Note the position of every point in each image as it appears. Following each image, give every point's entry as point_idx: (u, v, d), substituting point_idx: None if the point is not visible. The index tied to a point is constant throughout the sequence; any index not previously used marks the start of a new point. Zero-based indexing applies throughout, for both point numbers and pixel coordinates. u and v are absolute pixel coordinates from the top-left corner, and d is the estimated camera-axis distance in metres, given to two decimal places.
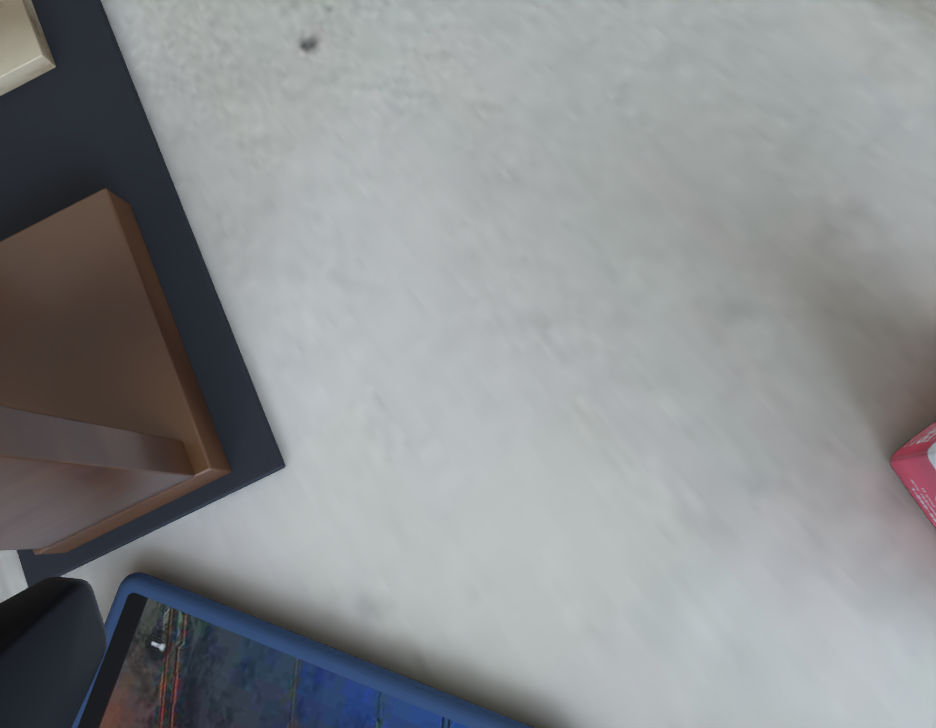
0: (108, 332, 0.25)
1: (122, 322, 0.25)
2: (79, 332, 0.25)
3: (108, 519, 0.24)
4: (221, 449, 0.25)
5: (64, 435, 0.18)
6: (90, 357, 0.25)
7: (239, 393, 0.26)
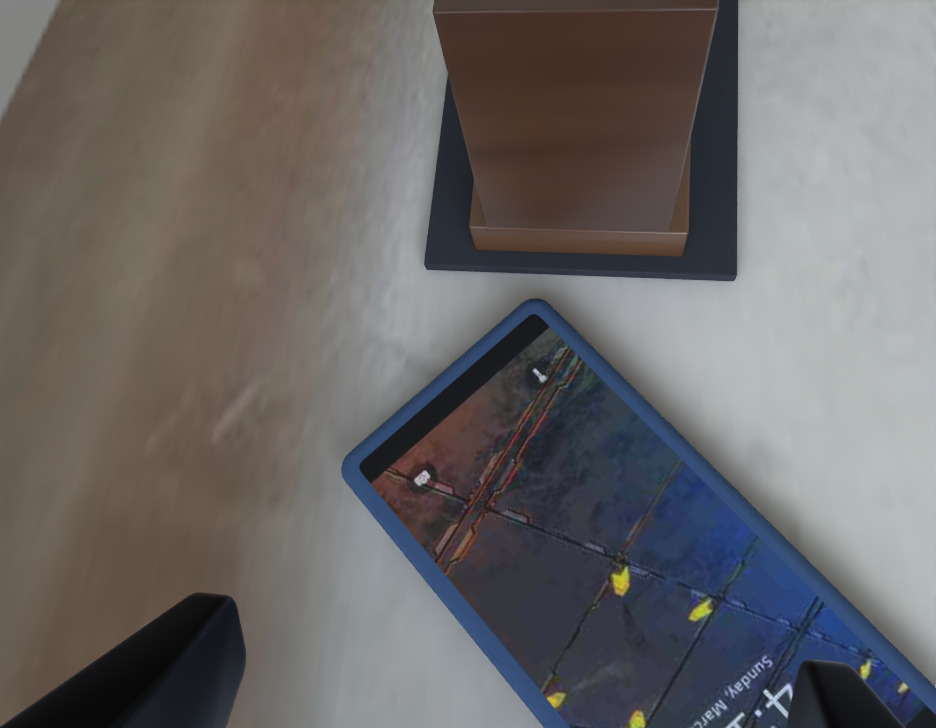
0: None
1: None
2: None
3: (559, 230, 0.22)
4: None
5: None
6: None
7: (723, 189, 0.24)
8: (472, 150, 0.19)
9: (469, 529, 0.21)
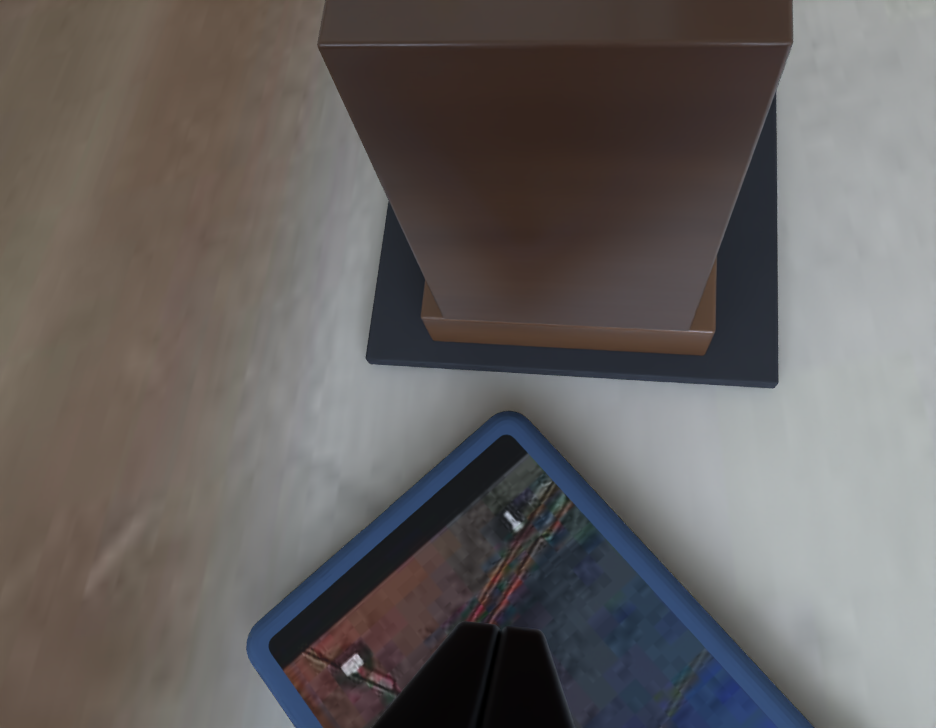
0: None
1: None
2: None
3: (540, 325, 0.17)
4: None
5: None
6: None
7: (759, 264, 0.18)
8: (411, 233, 0.13)
9: None
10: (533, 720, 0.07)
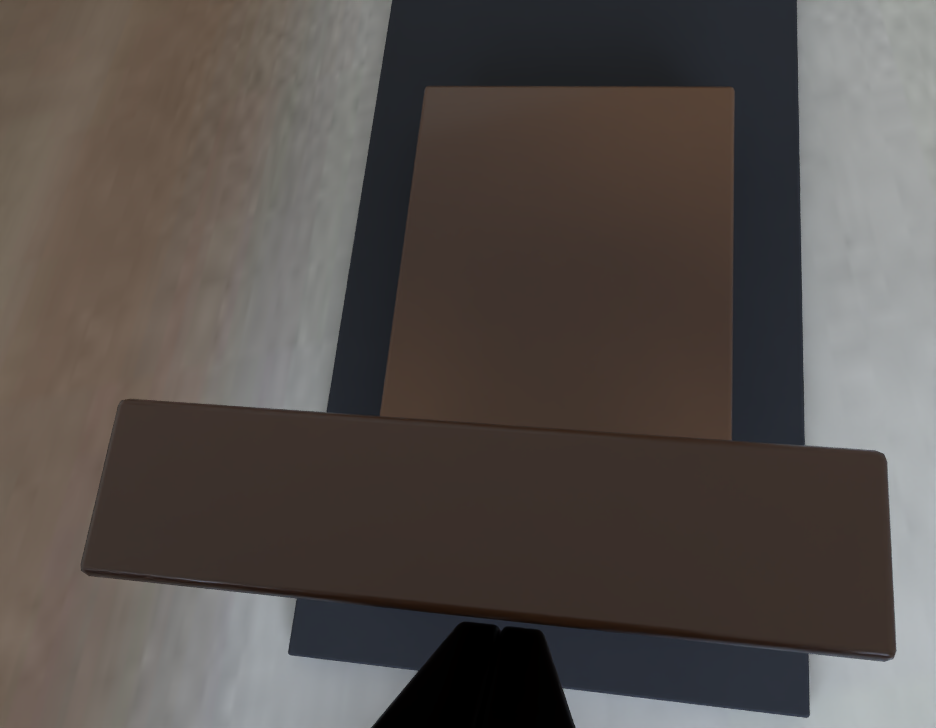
0: (642, 309, 0.14)
1: (673, 306, 0.14)
2: (593, 284, 0.14)
3: None
4: None
5: None
6: (594, 333, 0.14)
7: None
8: None
9: None
10: (533, 720, 0.07)
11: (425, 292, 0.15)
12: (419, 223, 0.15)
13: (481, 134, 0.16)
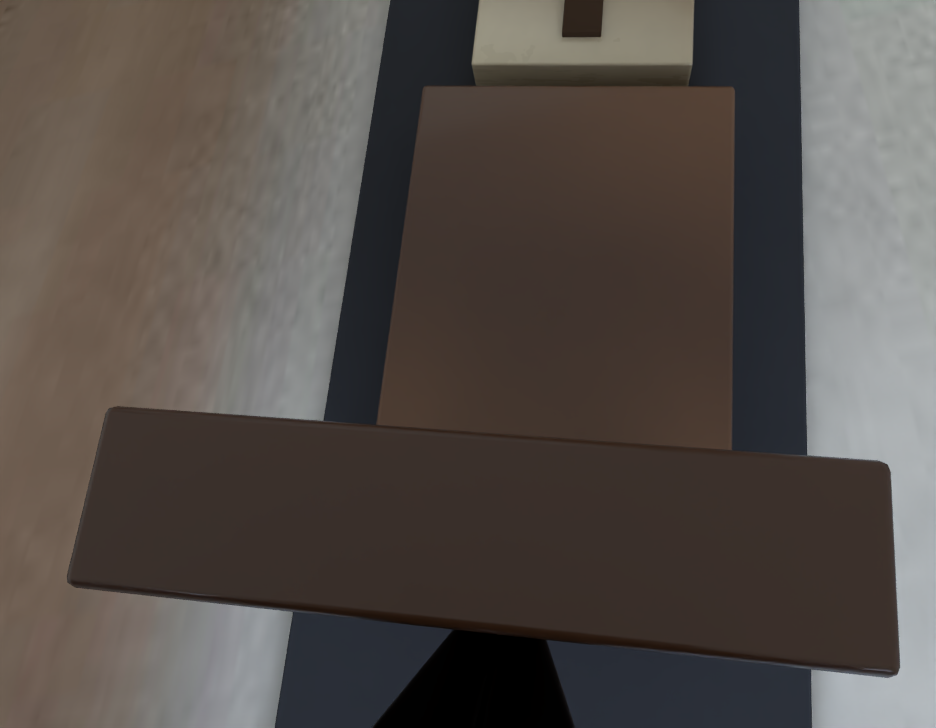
0: (642, 311, 0.14)
1: (673, 307, 0.14)
2: (592, 285, 0.14)
3: None
4: None
5: None
6: (593, 334, 0.14)
7: None
8: None
9: None
10: (533, 720, 0.07)
11: (423, 294, 0.15)
12: (417, 224, 0.15)
13: (480, 134, 0.16)
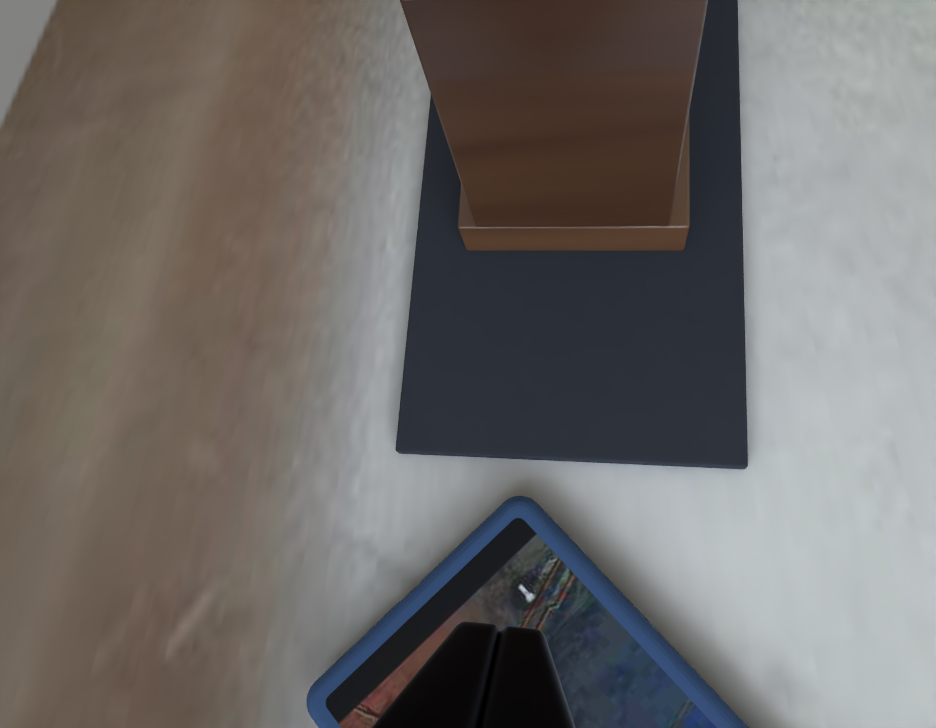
0: None
1: None
2: None
3: (552, 228, 0.21)
4: None
5: None
6: None
7: (729, 360, 0.21)
8: (454, 147, 0.18)
9: None
10: (533, 720, 0.07)
11: None
12: None
13: None
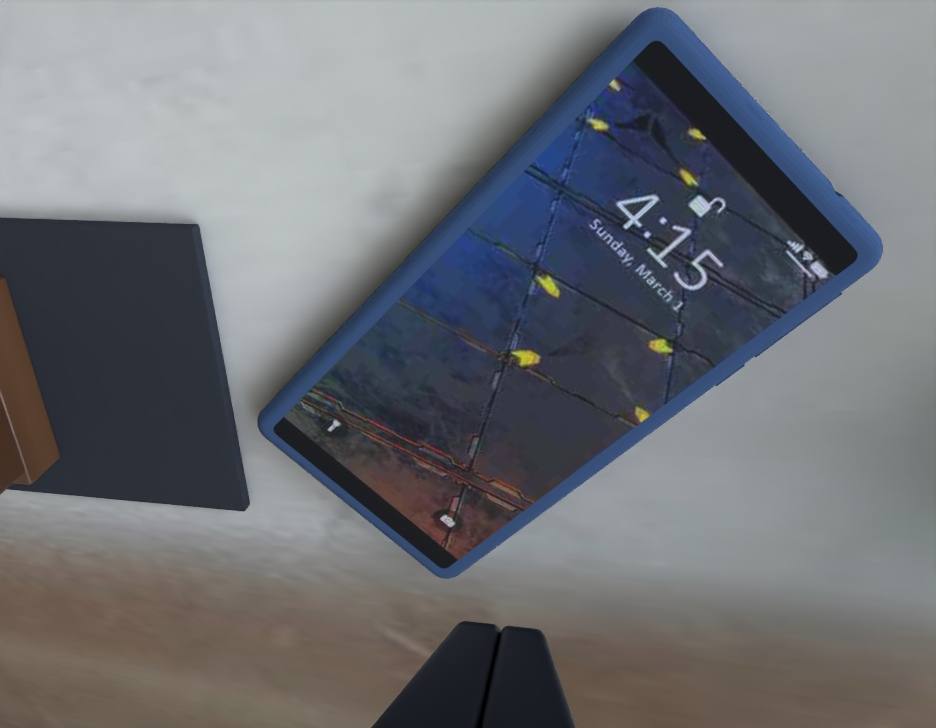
0: None
1: None
2: None
3: (7, 411, 0.23)
4: None
5: None
6: None
7: (98, 240, 0.21)
8: None
9: (490, 483, 0.22)
10: (533, 720, 0.07)
11: None
12: None
13: None
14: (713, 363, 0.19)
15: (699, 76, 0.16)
